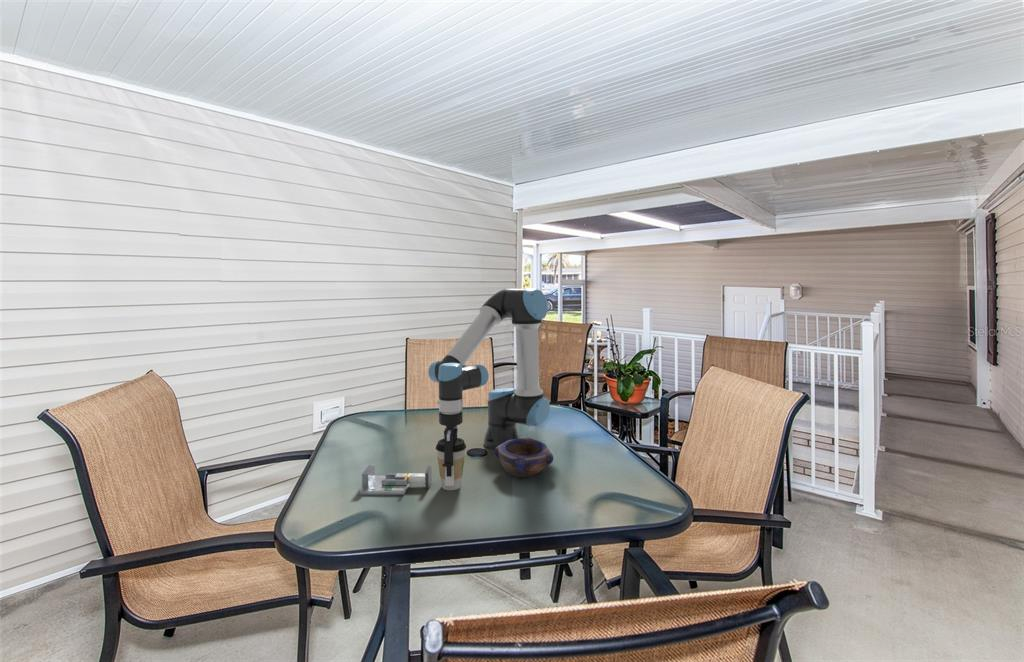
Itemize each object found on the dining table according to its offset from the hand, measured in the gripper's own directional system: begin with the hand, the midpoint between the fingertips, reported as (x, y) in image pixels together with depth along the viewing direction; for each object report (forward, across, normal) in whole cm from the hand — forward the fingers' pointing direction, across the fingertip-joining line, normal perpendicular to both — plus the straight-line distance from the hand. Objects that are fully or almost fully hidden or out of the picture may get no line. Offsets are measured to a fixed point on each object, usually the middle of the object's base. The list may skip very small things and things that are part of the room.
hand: (451, 479), depth 150 cm
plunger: (+2, +1, -13) cm, 13 cm away
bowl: (+3, -11, +24) cm, 27 cm away
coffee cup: (+3, 0, 0) cm, 3 cm away
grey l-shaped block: (+2, 0, -21) cm, 21 cm away
